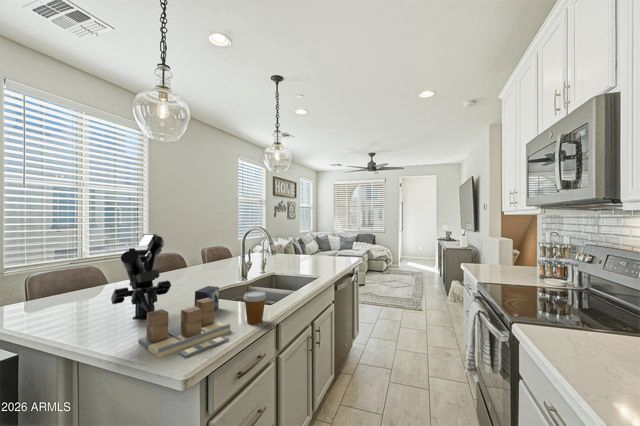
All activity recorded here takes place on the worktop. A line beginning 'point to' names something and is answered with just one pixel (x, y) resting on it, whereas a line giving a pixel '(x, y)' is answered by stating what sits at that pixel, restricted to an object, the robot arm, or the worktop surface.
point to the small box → (208, 295)
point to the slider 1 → (157, 325)
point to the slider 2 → (206, 310)
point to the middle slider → (191, 321)
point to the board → (183, 339)
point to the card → (203, 346)
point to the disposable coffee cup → (254, 306)
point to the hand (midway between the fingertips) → (149, 310)
